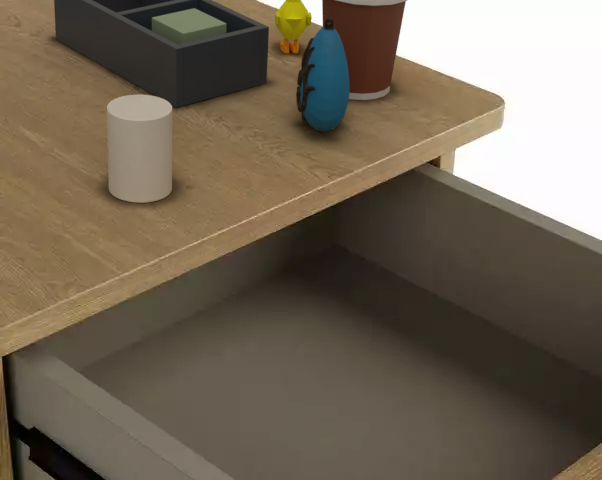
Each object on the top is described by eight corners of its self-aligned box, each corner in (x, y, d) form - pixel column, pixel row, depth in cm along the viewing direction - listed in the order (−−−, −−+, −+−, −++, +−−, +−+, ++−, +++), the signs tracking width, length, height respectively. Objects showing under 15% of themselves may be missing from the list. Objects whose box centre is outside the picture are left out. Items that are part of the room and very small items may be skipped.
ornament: (293, 106, 119) (299, 0, 113) (343, 108, 119) (351, 3, 114) (295, 145, 112) (302, 34, 106) (349, 147, 112) (358, 36, 107)
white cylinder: (132, 209, 100) (131, 125, 96) (96, 184, 103) (94, 103, 100) (184, 192, 103) (185, 110, 99) (148, 169, 106) (147, 89, 102)
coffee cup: (422, 86, 125) (436, -37, 118) (369, 114, 118) (380, -15, 112) (344, 61, 129) (354, -59, 123) (289, 86, 123) (296, -39, 116)
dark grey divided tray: (176, 108, 117) (176, 49, 114) (55, 39, 130) (53, -16, 127) (266, 83, 123) (269, 26, 120) (143, 20, 136) (142, -33, 133)
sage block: (182, 85, 120) (183, 33, 117) (151, 68, 123) (151, 17, 120) (225, 74, 123) (226, 23, 120) (193, 57, 126) (194, 7, 123)
